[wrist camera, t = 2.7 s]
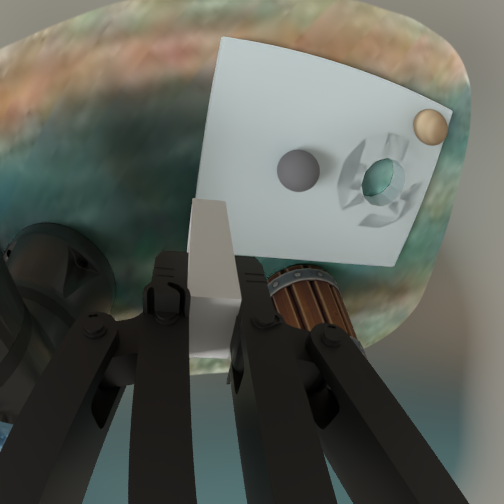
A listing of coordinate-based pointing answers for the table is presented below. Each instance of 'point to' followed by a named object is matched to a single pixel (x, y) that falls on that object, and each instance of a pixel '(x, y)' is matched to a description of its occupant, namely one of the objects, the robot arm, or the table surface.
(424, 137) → the cork ball
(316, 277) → the mug
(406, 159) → the white slab
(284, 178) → the ball
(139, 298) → the table surface
